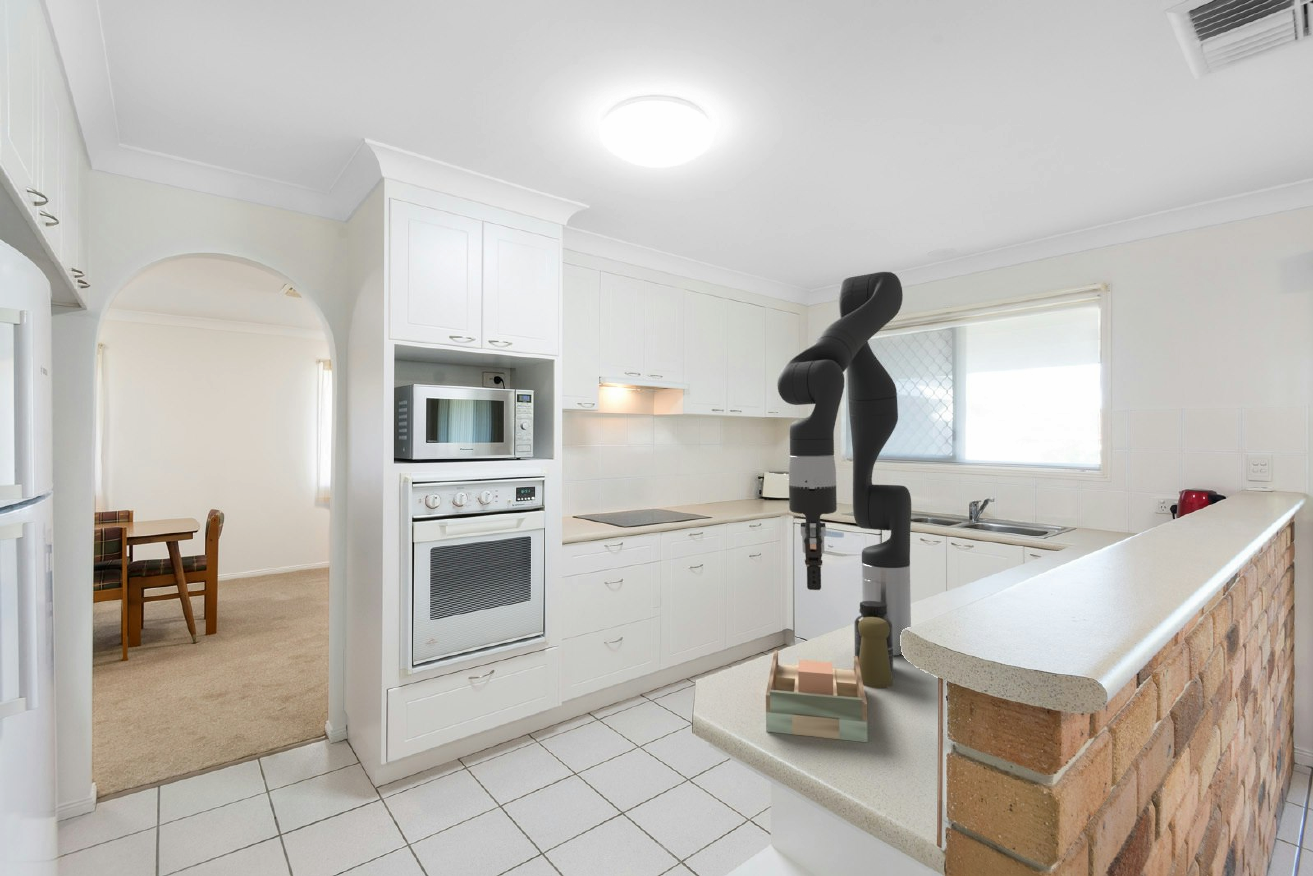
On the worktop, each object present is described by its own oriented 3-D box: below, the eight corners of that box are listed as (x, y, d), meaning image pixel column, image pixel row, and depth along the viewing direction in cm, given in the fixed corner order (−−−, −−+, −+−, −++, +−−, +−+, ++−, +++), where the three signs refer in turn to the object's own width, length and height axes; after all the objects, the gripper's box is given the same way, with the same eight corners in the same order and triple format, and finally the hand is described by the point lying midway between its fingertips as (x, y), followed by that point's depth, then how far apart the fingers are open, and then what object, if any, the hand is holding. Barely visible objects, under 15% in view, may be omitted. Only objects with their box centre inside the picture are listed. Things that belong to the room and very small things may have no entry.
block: (799, 692, 96) (799, 659, 96) (832, 695, 95) (832, 662, 95) (798, 705, 92) (798, 671, 92) (833, 708, 90) (833, 674, 90)
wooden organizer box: (774, 680, 109) (774, 647, 109) (857, 687, 106) (857, 653, 106) (766, 731, 90) (765, 691, 90) (867, 742, 86) (866, 700, 86)
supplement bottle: (899, 675, 111) (898, 608, 111) (861, 675, 111) (860, 608, 111) (886, 661, 118) (885, 598, 118) (850, 661, 118) (849, 599, 118)
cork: (887, 675, 111) (886, 614, 111) (897, 688, 105) (896, 623, 105) (853, 674, 111) (852, 613, 112) (860, 687, 105) (859, 623, 106)
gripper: (790, 480, 108) (792, 578, 108) (787, 486, 95) (789, 598, 95) (835, 480, 106) (836, 580, 106) (837, 486, 93) (839, 600, 93)
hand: (814, 588), depth 101 cm, fingers closed
